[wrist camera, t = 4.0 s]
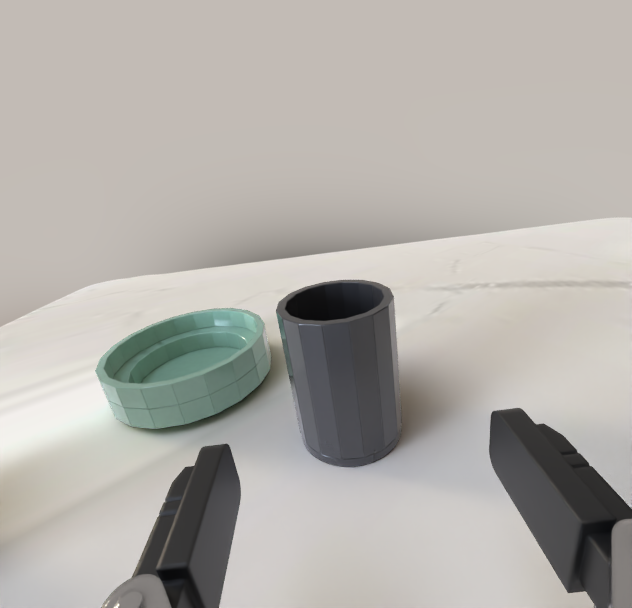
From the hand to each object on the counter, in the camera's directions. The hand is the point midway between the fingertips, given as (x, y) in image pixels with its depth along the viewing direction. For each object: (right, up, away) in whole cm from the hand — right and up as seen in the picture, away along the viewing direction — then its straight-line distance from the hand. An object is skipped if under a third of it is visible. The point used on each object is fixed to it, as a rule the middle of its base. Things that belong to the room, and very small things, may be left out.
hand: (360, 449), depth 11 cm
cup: (+1, -4, +12) cm, 13 cm away
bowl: (-12, -2, +20) cm, 24 cm away
